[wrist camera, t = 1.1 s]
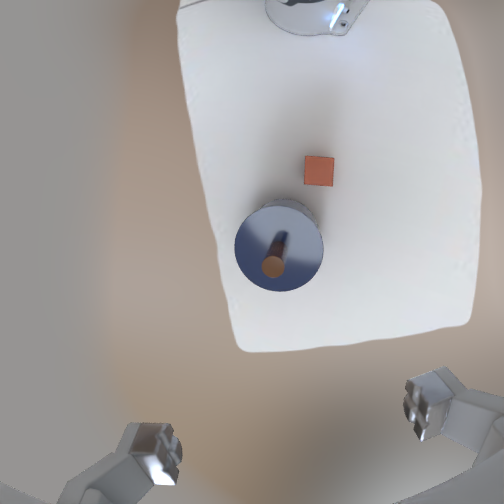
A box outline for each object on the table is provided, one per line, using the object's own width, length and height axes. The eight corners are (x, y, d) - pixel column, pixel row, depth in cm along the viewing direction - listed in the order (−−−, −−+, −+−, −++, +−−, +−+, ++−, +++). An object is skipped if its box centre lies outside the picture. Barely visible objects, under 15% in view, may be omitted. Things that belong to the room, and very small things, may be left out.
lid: (276, 185, 42) (269, 191, 34) (341, 247, 43) (347, 267, 35) (219, 248, 46) (201, 266, 38) (280, 304, 47) (274, 331, 39)
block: (328, 158, 49) (334, 158, 39) (327, 181, 50) (332, 186, 40) (305, 156, 49) (305, 155, 40) (304, 180, 50) (304, 184, 41)
